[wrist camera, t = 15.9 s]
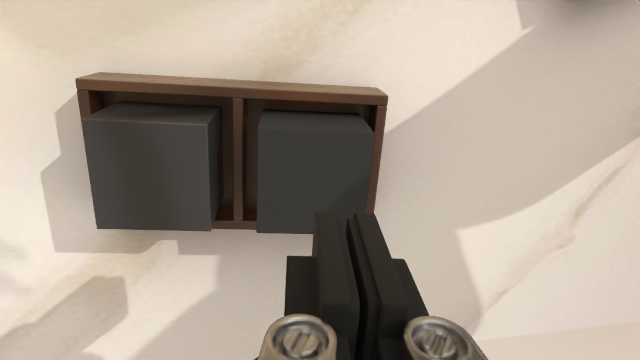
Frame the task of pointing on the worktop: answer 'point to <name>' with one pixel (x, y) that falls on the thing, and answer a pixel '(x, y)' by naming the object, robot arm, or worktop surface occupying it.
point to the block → (310, 168)
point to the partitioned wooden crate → (194, 145)
